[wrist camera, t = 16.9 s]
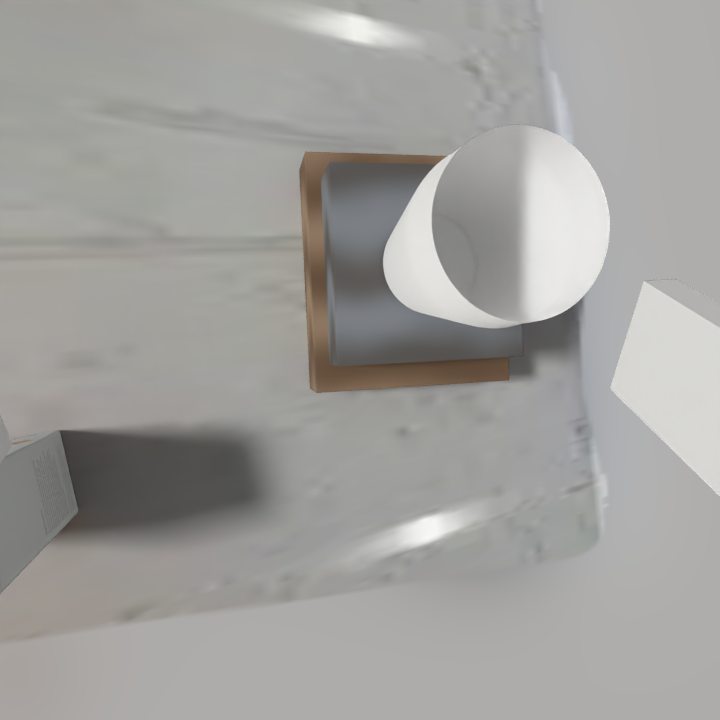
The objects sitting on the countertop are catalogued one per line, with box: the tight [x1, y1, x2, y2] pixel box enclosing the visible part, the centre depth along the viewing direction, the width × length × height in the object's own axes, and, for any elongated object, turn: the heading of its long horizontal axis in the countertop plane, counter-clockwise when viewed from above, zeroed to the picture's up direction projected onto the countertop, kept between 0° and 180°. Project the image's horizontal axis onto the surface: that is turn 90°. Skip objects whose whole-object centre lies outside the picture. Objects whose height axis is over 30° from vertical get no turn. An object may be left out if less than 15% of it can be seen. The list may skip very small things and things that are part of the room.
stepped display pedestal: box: [299, 152, 523, 393], centre depth 39 cm, size 17×15×8 cm
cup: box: [383, 125, 610, 328], centre depth 29 cm, size 9×9×12 cm
